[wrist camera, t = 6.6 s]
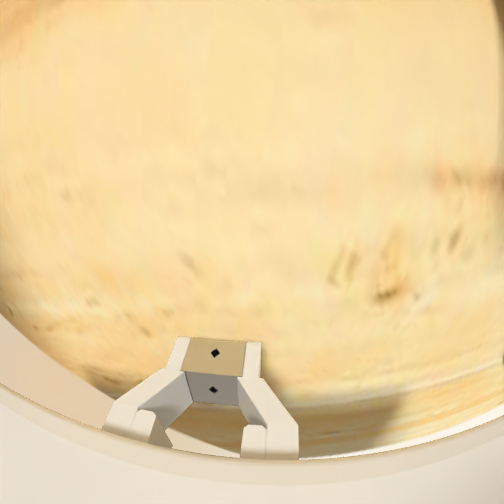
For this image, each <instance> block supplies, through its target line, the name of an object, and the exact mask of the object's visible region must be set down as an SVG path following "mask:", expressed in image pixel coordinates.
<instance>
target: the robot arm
mask: <svg viewBox="0 0 504 504" xmlns="http://www.w3.org/2000/svg"><path fill="white" fill-rule="evenodd" d="M261 345H262V344H261V342H248V341H229V340H213V339H204V338H195V337H185V336H178V338H177V339H176V341H175V344H174V346H173V349H172V352H171V354H170V357H169V360H168V362H167V365H166V368H165V369H163V368H161V369H160V370H158V371H157V372H155V373H154V374H153V375H151V376H150V377H148V378H147V379H145V380H144V381H143V382H141V383H140V384H138V385H137V386H135V387H134V388H133V389H131V390H130V391H128V392H127V393H125V394H124V395H122V396H121V397H120V398H118V399H117V400H115V401H114V403H113V405H112V407H111V409H110V412H109V414H108V416H107V419H106V421H105V423H104V426H103V428H102V430H100V429H98V428H94V427H92V426H89V425H86V424H84V423H81V422H78V421H76V420H73V419H71V418H69V417H66V416H64V415H61V414H59V413H57V412H55V411H52V410H50V409H48V408H46V407H43V406H41V405H39V404H37V403H35V402H33V401H31V400H30V399H28V398H25V397H24V396H22V395H20V394H18V393H16V392H14V391H13V390H11V389H9V388H8V387H6V386H4V385H2V384H1V383H0V504H504V415H503V416H501V417H498V418H496V419H494V420H491V421H489V422H487V423H484V424H482V425H479V426H477V427H474V428H471V429H468V430H465V431H463V432H460V433H457V434H454V435H450V436H447V437H444V438H441V439H437V440H434V441H430V442H426V443H422V444H419V445H414V446H410V447H405V448H401V449H396V450H391V451H385V452H379V453H373V454H367V455H359V456H351V457H341V458H329V459H312V460H299V435H298V424H297V423H296V422H295V420H294V419H293V418H292V416H291V415H290V414H289V412H288V411H287V410H286V409H285V407H284V406H283V405H282V403H281V402H280V401H279V399H278V398H277V396H276V395H275V394H274V392H273V391H272V390H271V388H270V387H269V386H268V384H267V383H266V381H265V380H264V379H263V378H260V374H261ZM193 401H195V402H205V403H216V404H224V405H233V406H239V407H240V409H241V411H242V413H243V415H244V417H245V419H246V420H247V422H248V424H249V425H247V426H246V427H244V430H243V437H242V445H241V452H240V458H232V457H222V456H214V455H206V454H200V453H193V452H187V451H181V450H176V449H172V446H173V445H172V443H171V442H170V440H169V438H168V436H167V435H166V433H165V430H166V429H167V428H168V427H169V426H170V425H171V424H172V423H173V422H174V421H175V420H176V419H177V418H178V417H179V416H180V415H181V414H182V413H183V412H184V411H185V410H186V409H187V408H188V407H189V406H190V405H191V404H192V403H193Z"/></svg>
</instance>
